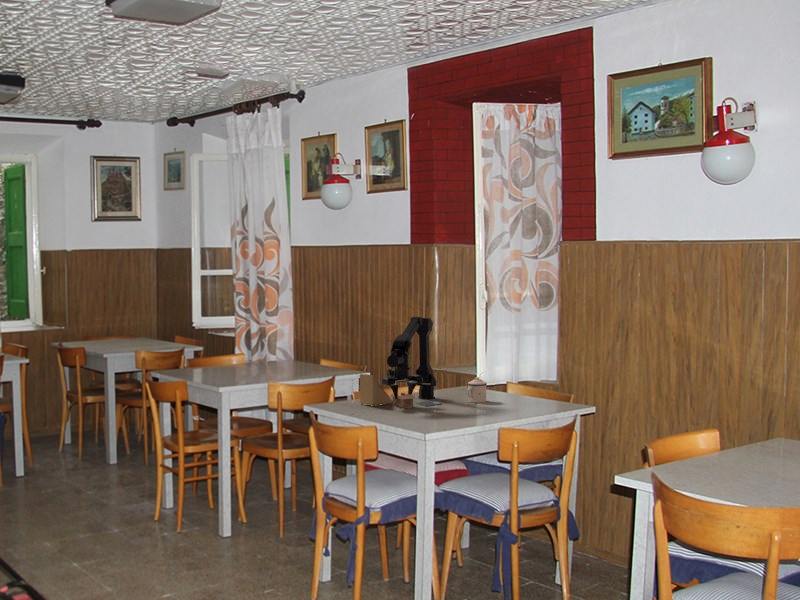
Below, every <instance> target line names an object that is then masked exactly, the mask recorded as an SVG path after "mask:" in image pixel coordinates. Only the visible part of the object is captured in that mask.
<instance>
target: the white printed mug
mask: <svg viewBox="0 0 800 600" xmlns="http://www.w3.org/2000/svg"><path fill="white" fill-rule="evenodd" d="M467 387H468V388H467V390H466V392H467V393H466V394H467V398H468V399H467V400H468V402H469V403H472V404H482V403H486V402H487V382H486V381H484V380H482V379H481V378H480V377H479V376H477V377H475V378H474V379H472V380H470V381H468V383H467Z"/></svg>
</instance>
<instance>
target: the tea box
mask: <svg viewBox="0 0 800 600" xmlns="http://www.w3.org/2000/svg"><path fill="white" fill-rule="evenodd" d="M392 400H393V403H392V406H393V407H395V406H396V408H398V407H400V408H399V409H402V408H408V409H414V398H412V399H399V398H397V399H395V397H392Z"/></svg>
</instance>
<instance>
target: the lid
mask: <svg viewBox="0 0 800 600" xmlns="http://www.w3.org/2000/svg"><path fill="white" fill-rule="evenodd" d="M390 397H392V398H393V397H395V396H394V393H391V394H390ZM397 398H399V399H412V398H413V399H416V398H415V395H414V394H412V395H410V394H408V392H398V397H397Z"/></svg>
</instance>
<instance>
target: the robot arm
mask: <svg viewBox="0 0 800 600" xmlns="http://www.w3.org/2000/svg"><path fill="white" fill-rule="evenodd" d="M409 320H410V321H409V323H407V326H406V328H405V329H404V331H403V332H402V333H401V334H399V335H397V336H396V338H394V340H393V342H392V345H391V349H390V351H389V352H390V355H389V356H388V357H387V359H386V364H387V366H388V367H390V368H393V369H394V370H393V369H390V368H389V369H387V370H386V375H387V377H383V378H382V381H381V383H382V384H383V385H387V386H389V387H390V389H391V390H392V394H394V396H395V399H397V397H398V393H399V385H398V384H397V383H403V382H406V384H407V394H410V395H413V392H414V390H415V387H416V386H418V387H419V389H418V396H417V397H418V399H423V400H429V399H436V397H435V394H434V393H435V392H434V391H435V389H434V388H435V387H436V386H437V383H438V381H437V379H436V377H435V375H434V370H433V368H432V366H431V364H430V335H431V333H432V331H433V327H434V326H433V325H434V321H433V320H432V319H431V318H430V317H422V316H412V317H411V318H410V319H409ZM416 333H417V335H418V339H419V340H418V348H419V350H418V351H419V353H418V354H419V355H418V356H419V366H418V368H416V369H415V374H411V375H410V374H409V373H410V372H409V371H410V370H411V367H410V366H409V355H410V354H411V353H410V349H411V347H412V339H413V337H414V336H415V335H416Z"/></svg>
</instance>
